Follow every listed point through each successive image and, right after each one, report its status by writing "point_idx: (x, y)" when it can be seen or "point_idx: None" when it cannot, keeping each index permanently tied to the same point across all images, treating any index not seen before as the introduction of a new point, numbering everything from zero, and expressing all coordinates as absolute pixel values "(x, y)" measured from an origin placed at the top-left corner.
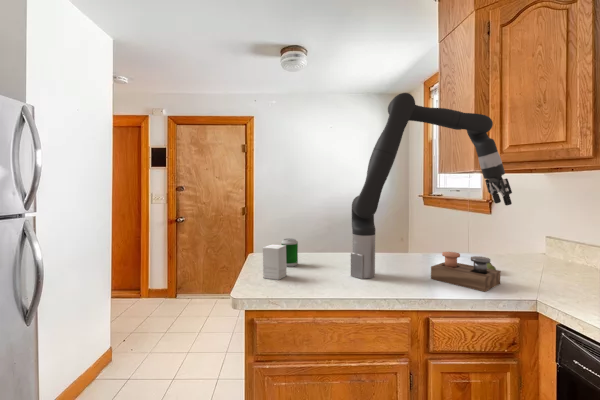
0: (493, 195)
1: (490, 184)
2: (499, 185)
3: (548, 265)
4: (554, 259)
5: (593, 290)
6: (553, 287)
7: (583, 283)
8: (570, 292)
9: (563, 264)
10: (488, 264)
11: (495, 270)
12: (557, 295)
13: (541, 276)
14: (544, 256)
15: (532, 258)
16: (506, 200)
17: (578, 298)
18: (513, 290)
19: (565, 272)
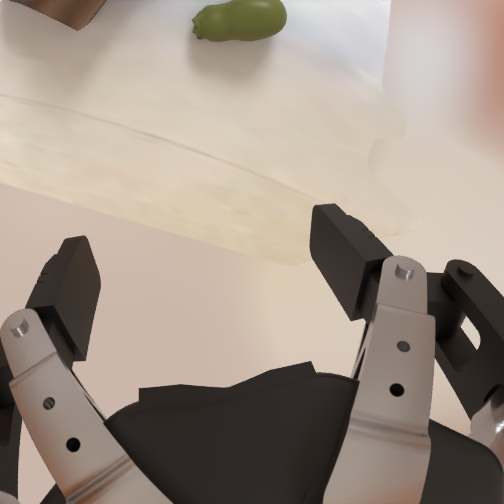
0: (363, 263)
1: (353, 490)
2: (54, 489)
3: None
4: None
5: (107, 212)
6: (98, 148)
7: (159, 214)
8: (69, 169)
9: None
10: (222, 22)
11: (78, 15)
12: (33, 138)
13: (205, 155)
14: (383, 230)
15: (376, 205)
16: (40, 283)
17: (31, 170)
18: (34, 49)
19: (253, 216)
